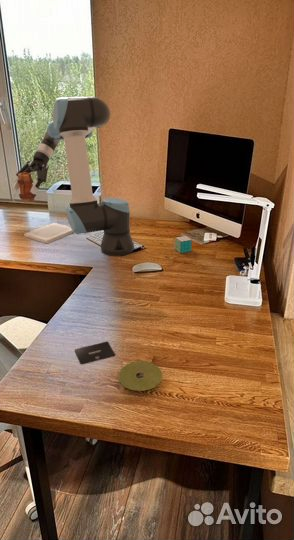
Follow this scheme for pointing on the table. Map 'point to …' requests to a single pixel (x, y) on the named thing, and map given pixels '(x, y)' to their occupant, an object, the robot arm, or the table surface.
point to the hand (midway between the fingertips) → (23, 191)
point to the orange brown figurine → (25, 187)
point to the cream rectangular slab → (49, 233)
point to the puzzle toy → (183, 244)
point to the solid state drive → (94, 352)
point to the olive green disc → (140, 375)
